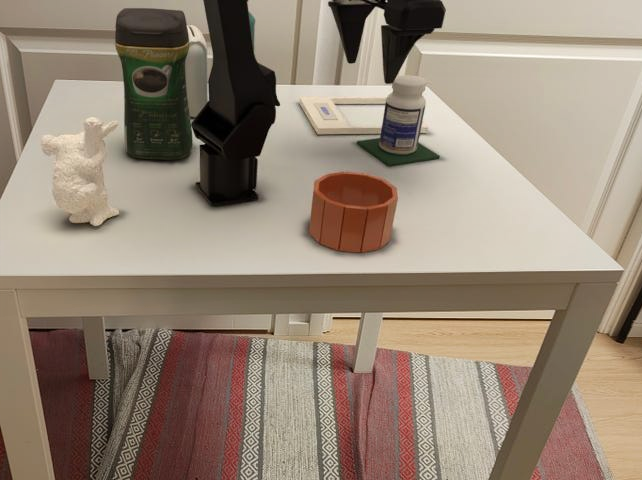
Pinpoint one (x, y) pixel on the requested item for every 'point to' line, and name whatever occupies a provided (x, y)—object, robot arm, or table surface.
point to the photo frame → (339, 114)
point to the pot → (352, 211)
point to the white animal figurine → (81, 172)
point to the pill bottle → (403, 115)
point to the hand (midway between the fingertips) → (369, 72)
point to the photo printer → (196, 71)
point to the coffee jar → (154, 82)
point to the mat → (394, 159)
